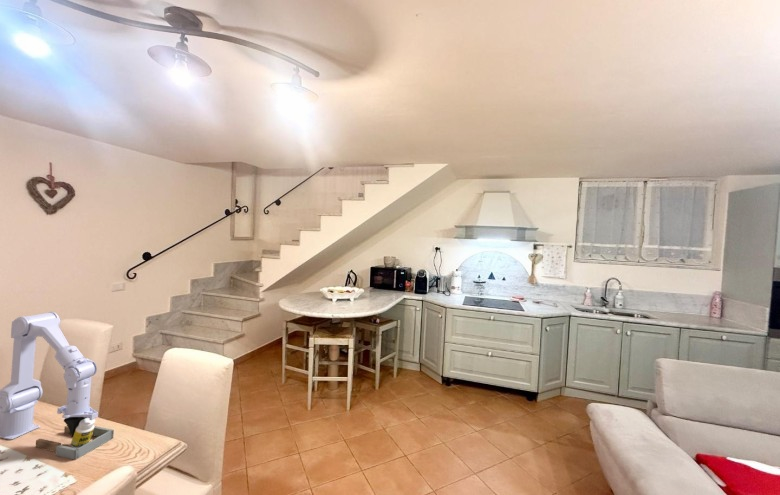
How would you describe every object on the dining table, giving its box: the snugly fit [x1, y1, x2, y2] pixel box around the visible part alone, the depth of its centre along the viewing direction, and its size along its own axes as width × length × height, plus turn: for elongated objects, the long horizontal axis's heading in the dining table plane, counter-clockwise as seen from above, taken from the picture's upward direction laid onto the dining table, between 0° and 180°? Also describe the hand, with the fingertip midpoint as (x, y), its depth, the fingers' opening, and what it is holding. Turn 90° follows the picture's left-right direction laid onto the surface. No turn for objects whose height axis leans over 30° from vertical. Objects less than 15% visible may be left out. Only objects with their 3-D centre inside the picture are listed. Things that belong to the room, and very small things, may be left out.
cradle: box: [55, 425, 115, 461], centre depth 105 cm, size 8×12×3 cm
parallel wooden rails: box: [35, 425, 71, 453], centre depth 107 cm, size 9×9×2 cm
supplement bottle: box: [70, 418, 96, 449], centre depth 106 cm, size 5×5×8 cm
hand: (76, 435), depth 106 cm, fingers closed, pressing on supplement bottle
